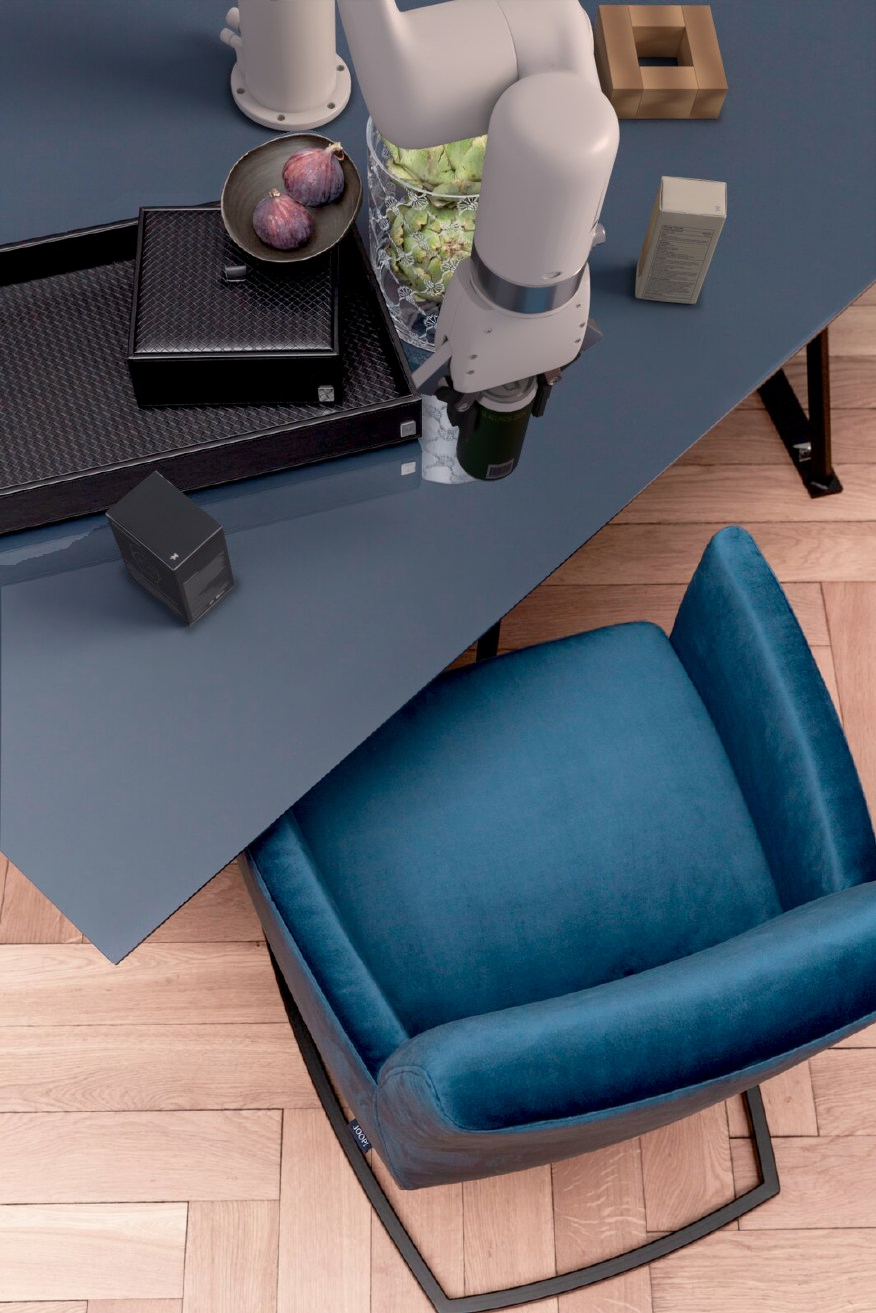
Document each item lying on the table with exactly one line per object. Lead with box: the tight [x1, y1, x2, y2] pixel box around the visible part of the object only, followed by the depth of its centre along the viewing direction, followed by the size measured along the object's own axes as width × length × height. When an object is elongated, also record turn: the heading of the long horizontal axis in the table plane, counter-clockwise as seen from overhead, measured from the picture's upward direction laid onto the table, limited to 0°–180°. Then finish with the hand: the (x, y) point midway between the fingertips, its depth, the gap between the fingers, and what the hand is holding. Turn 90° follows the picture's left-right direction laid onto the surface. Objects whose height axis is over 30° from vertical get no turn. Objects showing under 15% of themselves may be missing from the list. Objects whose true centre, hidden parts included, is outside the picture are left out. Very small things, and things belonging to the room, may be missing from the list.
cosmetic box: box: [634, 175, 728, 305], centre depth 116 cm, size 6×4×12 cm
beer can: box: [455, 375, 538, 483], centre depth 96 cm, size 5×5×12 cm
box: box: [105, 470, 235, 627], centre depth 100 cm, size 8×6×11 cm
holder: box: [592, 4, 729, 120], centre depth 131 cm, size 12×12×4 cm
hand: (496, 411), depth 95 cm, fingers closed on beer can, 5 cm apart
